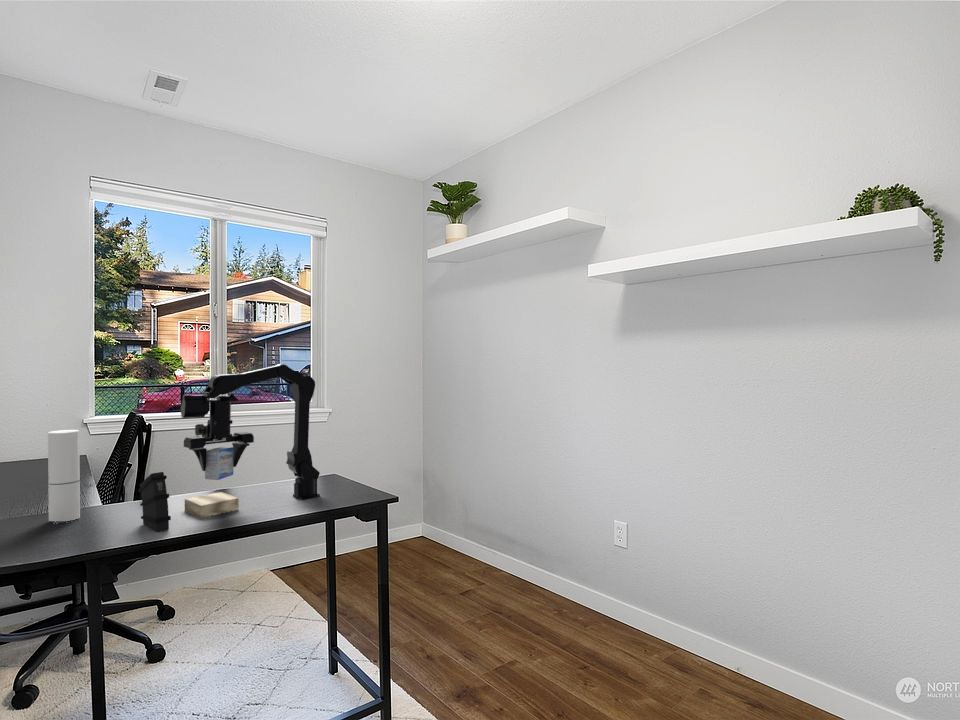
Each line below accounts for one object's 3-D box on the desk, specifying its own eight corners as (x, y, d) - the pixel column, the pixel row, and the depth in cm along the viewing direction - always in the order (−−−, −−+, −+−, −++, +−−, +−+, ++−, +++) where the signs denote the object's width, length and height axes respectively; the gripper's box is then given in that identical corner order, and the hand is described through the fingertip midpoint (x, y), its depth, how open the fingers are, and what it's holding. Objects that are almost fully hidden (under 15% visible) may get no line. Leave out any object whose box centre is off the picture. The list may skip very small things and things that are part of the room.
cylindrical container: (77, 514, 166) (76, 428, 166) (82, 519, 161) (81, 431, 160) (46, 519, 161) (46, 431, 161) (51, 525, 156) (50, 434, 156)
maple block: (221, 504, 178) (221, 492, 178) (238, 511, 171) (238, 498, 171) (184, 512, 170) (184, 498, 170) (201, 519, 163) (201, 505, 163)
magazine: (159, 529, 147) (150, 473, 151) (144, 540, 155) (135, 487, 159) (175, 525, 150) (165, 471, 154) (159, 537, 158) (150, 485, 162)
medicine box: (218, 480, 166) (218, 450, 166) (204, 479, 167) (204, 450, 167) (233, 474, 174) (234, 446, 174) (220, 474, 175) (220, 446, 175)
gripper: (238, 412, 183) (237, 461, 183) (176, 416, 169) (175, 469, 169) (255, 415, 175) (254, 466, 176) (191, 419, 161) (191, 474, 162)
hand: (219, 468), depth 171 cm, fingers closed on medicine box, 9 cm apart
